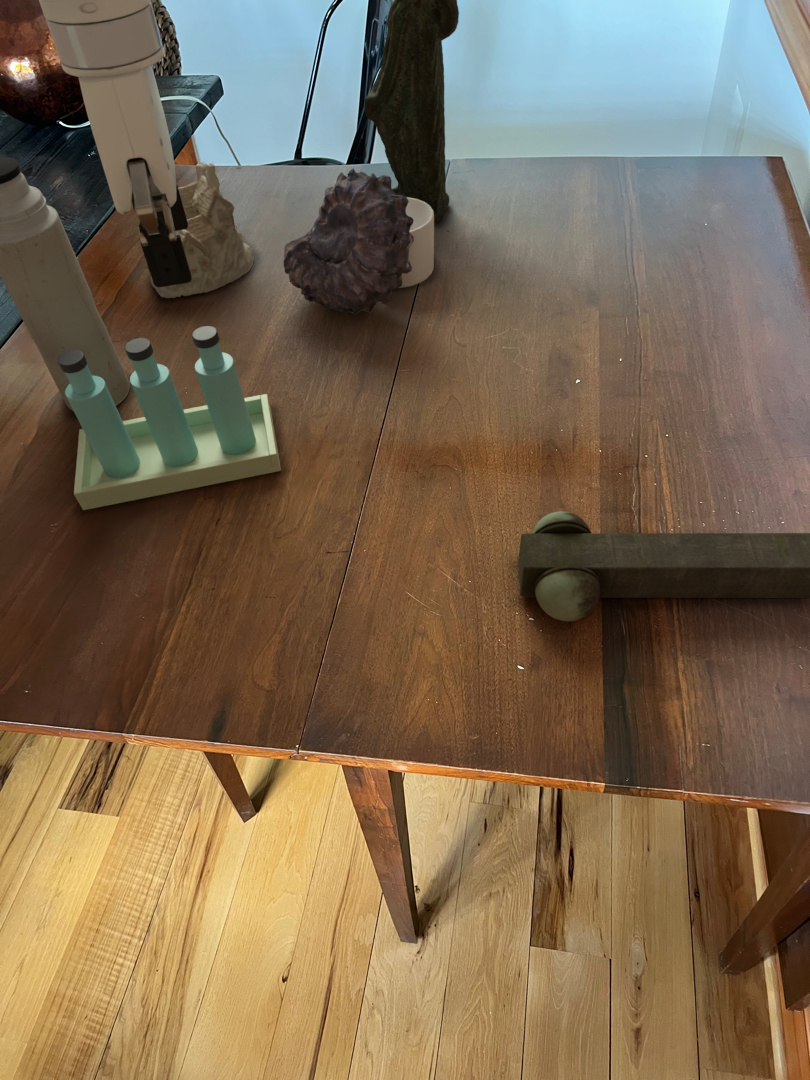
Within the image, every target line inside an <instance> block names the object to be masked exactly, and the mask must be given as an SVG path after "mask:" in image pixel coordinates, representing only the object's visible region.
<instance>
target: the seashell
mask: <svg viewBox="0 0 810 1080" xmlns="http://www.w3.org/2000/svg"><path fill="white" fill-rule="evenodd" d="M392 189H393V188H392V177H391V176H389V175H386V174H383V175H380V176H378V177H377V175H376V174H375V173H374V172H372V173H371V174H370V175H367V173H366V172H363V171H359V172H357V171H356V170H355V168H352V169H350V170H349V171H348V173H347V176H346V175H345V174H344V173H343V172H340V173H339V174H338V176H337V177H336V182H335V184H334V185H333V186H330V187H327V188H325V191H324V197H323V201H322V203H321V205H320V206H319V209H318V216H317V218H316V219H315V221H314V223H313V225H312V227H311V228H310V230H309V231H308V232H306V233H305V235H303V236H300V237H299V238H296V239H293V240H291V241H290V242H288V243H286V244H285V245H284V251H283V268H284V273H285V274H286V275H288V280H289V283H290V284H291V285H292V286H294V288H297V289H300V290H301V292H300V294H301V295H303V297H304V300H305V301H309V302H310V303H312V302H314V303H315V304H318V305H320V306H321V307H323V309H325V310H329V309H330V310H331V309H332V310H334V311H337V312H340V313H346V314H347V313H352V314H353V315H357V314H358V313H360V312H361V311H362V312H367V313H371V314H372V311H373V309H374V307H375V306H376V305H377V303H378V302H379V303H381V304H383V305H389V304H390V302H392V300H393V299H392V294H393V290H397V289H400V288H399V287H401V286H402V273H406V274H407V273H408V272H410V271H411V270H412V266H411V264H410V261H409V258H408V257H409V249H410V246H411V245H412V243H413V241H414V238H413V236H412V235H411V234H410V232H409V231H410V227H411V225H412V224H413V221H414V220H413V218H412V217H409V216H408V215H406V207H407V205H408V202H409V200H408V199H407V197H405V196H403V195H396V193H395V192H394V191H393V190H392Z"/></svg>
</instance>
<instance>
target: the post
mask: <svg viewBox="0 0 810 1080" xmlns="http://www.w3.org/2000/svg"><path fill="white" fill-rule="evenodd" d="M517 566H518V580H519V595H520V596H521V597H522V598H536V601H537V603H538V605H539V607H540V608H541V609H542V610H543V612H544V613H546V614H547V615H548V616H549V617H551V618H553V619H555V620H558V621H562V622H574V621H575V622H576V621H578V620H581V619H584V618H585V617H587V616H588V615H589V614H590V613H592V612H593V610H594V609H595V608H596V605H597V603H598V602H599V598H613V599H614V598H618V599H619V598H621V599H624V598H625V599H627V598H628V599H629V598H636V599H637V598H639V599H640V598H641V599H642V598H643V599H644V598H649V599H653V598H655V599H658V598H659V599H685V598H686V599H689V598H690V599H810V532H685V533H684V532H676V533H675V532H673V533H672V532H670V533H669V532H666V533H665V532H664V533H663V532H661V533H660V532H657V533H656V532H655V533H654V532H653V533H652V532H648V533H647V532H645V533H642V532H641V533H639V532H636V533H634V532H630V533H629V532H626V533H625V532H624V533H622V532H621V533H619V532H617V533H615V532H614V533H612V532H611V533H609V532H607V533H606V532H605V533H602V532H601V533H599V532H598V533H597V532H596V533H592V531H591V529H590V527H589V525H588V524H587V522H586V521H585V520H584V519H583V518H582V517H580V516H579V515H577V514H576V513H572V512H570V511H564V510H563V511H560V510H559V511H554V512H550V513H548V514H546V515H545V516H543V517H542V518H540V520H538V522H537V523H536V524H535V525H534V528H533V529H532V532H531V533H522V534H521V536H520V543H519V552H518V562H517Z"/></svg>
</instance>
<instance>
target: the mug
mask: <svg viewBox="0 0 810 1080" xmlns="http://www.w3.org/2000/svg"><path fill="white" fill-rule="evenodd" d="M407 199H408V200H409V202H408V205H407V207H406V215H408V216H409V217H412V218H413V220H414V221H413V224H412V225H411V227H410V231H409V232H410V234H411V235H412V236H413V238H414V241H413V243H412V245H411V246H410V249H409V257H408V258H409V261H410V264H411V266H412V270H411V271H410V272H408V273H407V274H406V273H402V286H401V287H399V288H398V289H404V288H405V289H406V288H410V287H413V286H416V285H418V284H421V283H422V282H424V281H425V280H427V279H428V278H429V277H430V276H431V275H432V274H433V271H434V270H435V269H434V268H435V266H434V265H435V263H434V261H435V260H434V259H435V225H434V211H433V210H432V208H431V207H430V205H428V204H427V203H425V202H424V201H421V200H418V199H415V198H409V197H407Z"/></svg>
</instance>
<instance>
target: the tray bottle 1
mask: <svg viewBox="0 0 810 1080" xmlns="http://www.w3.org/2000/svg"><path fill="white" fill-rule="evenodd" d="M58 363H59V365H60V367H61V369H62V371H63V372H65V374H66V376H67V378H68V380H69V382H70V384H69V385H68V386H67V388H66V390H65V395H66V397H67V399H68V401H69V403H70V405H71V407H72V409H73V411H72V412H74V415H75V417H76V418H77V421H78V423H79V424H80V426H81V429H83V430H84V432H85V434H86V436H87V438H88V440H89V442H90V444H91V446H92V448H93V450H94V452H95V454H96V456H97V458H98V460H99V462H100V464H101V466H102V468H103V470H104V472H105V473H106V475H108V476H109V477H112V478H122V477H126V476H128V475H130V474H132V473H133V472H135V471H136V470H137V468H138V467H139V465H140V459H139V457H138V454H137V452H136V450H135V448H134V445H133V443H132V441H131V439H130V437H129V434H128V432H127V430H126V428H125V426H124V423H123V421H124V420H123V419H122V417H121V413H120V412H119V410H118V408H117V405H116V406H115V403H114V401H113V399H112V397H111V395H110V392H109V390H108V388H107V386H106V383H105V381H104V380H103V379H102V378H101V377H98V376H92V375H91V373H90V371H89V369H88V366H87V361H86V358H85V356H84V354H83V353H82V352H81V351H79V350H71V351H67V352H65V353H63V354H62V355H60V356H59V358H58Z"/></svg>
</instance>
